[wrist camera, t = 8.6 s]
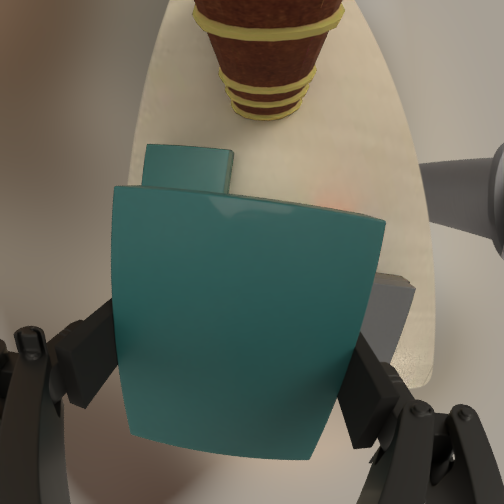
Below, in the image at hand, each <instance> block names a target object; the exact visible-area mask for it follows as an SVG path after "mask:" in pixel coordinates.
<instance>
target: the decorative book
mask: <svg viewBox="0 0 504 504" xmlns="http://www.w3.org/2000/svg"><path fill="white" fill-rule="evenodd" d="M194 2H195V7H194V10H193V17H194V19H195V21H196V23H197V24H198V25H199V26H200V27H201V28H202V30H203V31H206V32H207V34H208V36H209V39H210V41H211V44H212V46H213V49H214V52H215V54H216V57H217V59H218V62H219V65H220V68H219V77H220V78H221V80H222V81H223V83H224V84H225V85H226V87H225V91H226V93H227V95H228V96H229V97H230V99H231V106H232V108H233V109H234V111H235V112H236V113H237V114H239V115H241V116H243V117H245V118H250V119H254V120H275V119H281V118H283V117H285V116H287V115H290V114H291V113H293V112H294V111H296V110H297V109H298V108H299V107H300V105H301V103H302V97H304V96H305V94H306V92H307V90H308V88H309V84H308V83H310V82H311V81H312V79H313V77H314V75H315V73H316V71H317V70H316V67H315V62H316V60H317V58H318V55H319V53H320V51H321V48H322V46H323V44H324V41H325V39H326V37H327V34H328V32H329V30H331V29H334V28H336V27H337V25H338V23H339V22H340V20H341V18H342V16H343V14H344V12H345V9H344V7H343V5H342V3H341V2H342V0H194Z"/></svg>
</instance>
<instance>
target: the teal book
mask: <svg viewBox="0 0 504 504" xmlns="http://www.w3.org/2000/svg"><path fill="white" fill-rule="evenodd" d="M385 225H386V221H384V220H381V219H378V218H375V217H371V216H368V215H364V214H360V213H354V212H349V211H343V210H337V209H332V208H326V207H320V206H313V205H307V204H301V203H294V202H287V201H280V200H273V199H266V198H259V197H251V196H243V195H235V194H226V193H218V192H208V191H199V190H189V189H178V188H167V187H155V186H141V185H137V186H115V187H114V196H113V210H112V233H111V234H112V235H111V283H112V306H113V321H114V332H115V343H116V352H117V360H118V367H119V374H120V381H121V387H122V393H123V399H124V404H125V409H126V414H127V419H128V423H129V428H130V432H131V434H132V435H135V436H139V437H142V438H146V439H149V440H153V441H157V442H161V443H165V444H169V445H173V446H178V447H183V448H188V449H193V450H198V451H204V452H210V453H216V454H223V455H231V456H239V457H249V458H261V459H279V460H309V459H310V457H311V455H312V453H313V451H314V449H315V447H316V445H317V443H318V441H319V438H320V436H321V434H322V432H323V430H324V427H325V425H326V423H327V421H328V418H329V416H330V413H331V411H332V409H333V406H334V404H335V401H336V399H337V395H338V393H339V390H340V388H341V385H342V382H343V379H344V377H345V374H346V371H347V368H348V366H349V363H350V360H351V357H352V354H353V351H354V348H355V346H356V343H357V339H358V336H359V333H360V330H361V326H362V323H363V319H364V316H365V312H366V309H367V305H368V301H369V298H370V294H371V290H372V286H373V282H374V278H375V274H376V269H377V265H378V260H379V256H380V251H381V246H382V241H383V236H384V230H385Z"/></svg>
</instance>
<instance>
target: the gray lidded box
mask: <svg viewBox="0 0 504 504" xmlns="http://www.w3.org/2000/svg"><path fill="white" fill-rule="evenodd" d="M415 290H416V288H415V287H413V286H412V285H410V282H409V281H408V280H406V279H405V278H403V277H402V276H396V275H389V274H382V273H376V274H375V278H374V282H373V286H372V290H371V294H370V298H369V301H368V305H367V309H366V312H365V316H364V319H363V323H362V326H361V330H360V331H361V333H362V334H363V336H364V338H365V339H366V341H367V342H368V344H369V346H370V347H371V349H372V350H373V352H374V354H375V355H376V357H377V358H378V360H379V362H387V363H389V364H390V362H391V359H392V357H393V354H394V352H395V349H396V347H397V344H398V341H399V339H400V336H401V333H402V330H403V327H404V325H405V322H406V319H407V316H408V313H409V309H410V306H411V303H412V300H413V296H414V293H415Z"/></svg>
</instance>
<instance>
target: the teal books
mask: <svg viewBox="0 0 504 504" xmlns="http://www.w3.org/2000/svg"><path fill="white" fill-rule="evenodd" d="M233 157H234V152H233V151H232V150H226V149H216V148H205V147H193V146H179V145H160V144H147V147H146V153H145V161H144V168H143V176H142V185H141V186H155V187H167V188H178V189H189V190H199V191H208V192H218V193H226V194H228V193H229V186H230V178H231V171H232V164H233Z"/></svg>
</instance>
